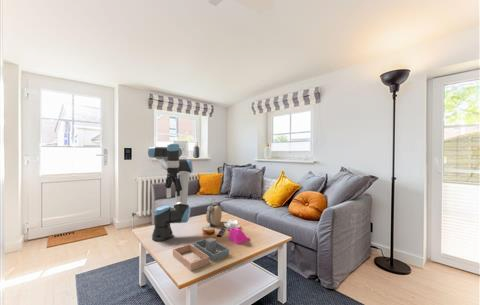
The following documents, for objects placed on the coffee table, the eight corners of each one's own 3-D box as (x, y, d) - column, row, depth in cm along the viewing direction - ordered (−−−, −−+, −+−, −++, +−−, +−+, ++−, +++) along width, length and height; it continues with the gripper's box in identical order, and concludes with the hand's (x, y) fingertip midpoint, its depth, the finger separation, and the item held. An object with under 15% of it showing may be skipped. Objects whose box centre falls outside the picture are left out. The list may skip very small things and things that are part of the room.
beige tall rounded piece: (212, 221, 201) (212, 197, 201) (221, 222, 199) (221, 197, 199) (204, 227, 185) (204, 201, 185) (214, 228, 182) (214, 201, 182)
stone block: (205, 251, 141) (205, 239, 140) (211, 249, 144) (211, 237, 144) (209, 254, 137) (209, 242, 137) (216, 251, 140) (216, 239, 140)
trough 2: (193, 248, 145) (193, 242, 145) (208, 243, 153) (208, 237, 153) (213, 261, 128) (213, 255, 128) (228, 255, 136) (228, 248, 136)
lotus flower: (223, 225, 190) (223, 216, 189) (240, 226, 189) (240, 216, 189) (221, 232, 175) (221, 221, 175) (240, 232, 175) (240, 221, 175)
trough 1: (172, 255, 135) (172, 249, 135) (190, 249, 143) (190, 243, 143) (190, 270, 118) (190, 263, 118) (209, 263, 126) (209, 256, 126)
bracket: (237, 244, 151) (237, 230, 151) (229, 239, 159) (229, 226, 159) (250, 240, 159) (250, 226, 159) (241, 236, 167) (241, 223, 167)
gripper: (160, 166, 146) (160, 197, 146) (176, 168, 128) (176, 203, 128) (170, 165, 151) (170, 195, 151) (187, 168, 133) (187, 201, 133)
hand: (173, 199), depth 140 cm, fingers open, 13 cm apart
